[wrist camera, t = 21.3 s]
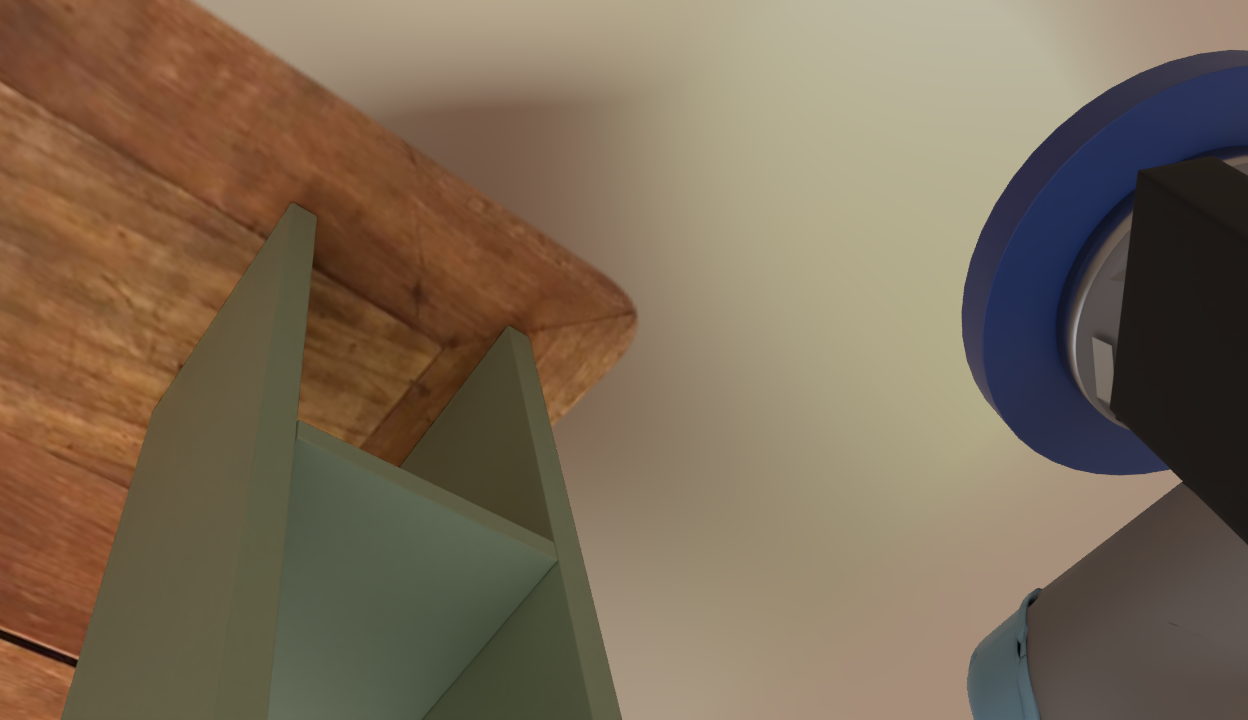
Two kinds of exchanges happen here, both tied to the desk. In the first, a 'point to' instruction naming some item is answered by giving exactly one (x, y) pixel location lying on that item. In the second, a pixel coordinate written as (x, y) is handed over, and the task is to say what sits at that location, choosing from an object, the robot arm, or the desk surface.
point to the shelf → (339, 546)
